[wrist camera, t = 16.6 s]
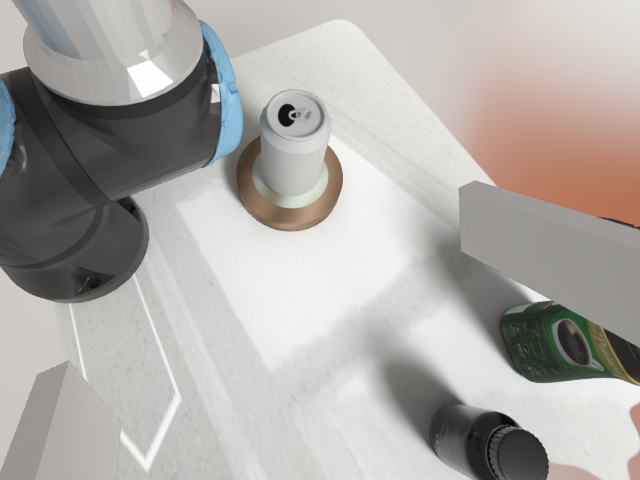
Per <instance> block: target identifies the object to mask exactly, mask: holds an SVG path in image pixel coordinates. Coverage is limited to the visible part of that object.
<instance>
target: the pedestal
mask: <svg viewBox="0 0 640 480" xmlns="http://www.w3.org/2000/svg"><path fill="white" fill-rule="evenodd" d="M237 183H238V188H239V193H240V197H241V200H242V202H243V204H244V206H245V208H246V209H247V211H248V212H249V213H250V214H251V215H252V216H253V217H254V218H255V219H256V220H257V221H259V222H260V223H262V224H264V225H266V226H268V227H270V228H273V229H276V230H281V231H300V230H305V229H308V228H311V227H313V226H315V225H317V224H319V223H320V222H322V221H323V220H324V219H325V218H326V217H327V216H328V215H329V214H330V213H331V211H332V210H333V208H334V206H335V204H336V202H337V200H338V197H339V195H340V192H341V189H342V183H343V173H342V168H341V164H340V162H339V160H338V158H337V156H336V154H335V153H334V151H333V150H332V149H331V148H330V147H329V146H328V145H327V149H326V152H325V156H324V160H323V164H322V168H321V172H320V176H319V179H318V182H317V184H316V185H315V186H314V188H313V189H312V190H310V191H309V192H307V193H306V194H303V195H299V196H285V195H282V194H279V193H277V192H275V191H274V190H272V189H271V188H270V187H269V186H268V185H267V183H266V182H265V180H264V177H263V175H262V156H261V136H259V137H258V138H256V139H255V140H253V141H252V142H251V143H250V144H249V145H248V146H247V147H246V148H245V150H244V151H243V153H242V154H241V157H240V159H239V162H238V165H237Z"/></svg>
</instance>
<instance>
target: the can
mask: <svg viewBox="0 0 640 480" xmlns="http://www.w3.org/2000/svg"><path fill="white" fill-rule="evenodd" d="M331 129H332V128H331V119H330V117H329V115H328V113H327V110H326V108H325V106H324V104H323V103H322V102H321V101H320V99H319V98H318V97H316V96H315V95H313V94H311V93H310V92H306V91H303V90H294V89H290V90H286V91H282V92H280V93H278V94H276V95H275V96H274V97H273V98H272V99H271V100H270V101H269V103H268V104H267V106H266V107H265V108H264V109H263V111H262V114H261V117H260V133H261V156H262V175H263V177H264V180H265V182H266V183H267V185H268V186H269V187H270V188H271V189H272V190H274V191H275V192H277V193H279V194H282V195H285V196H299V195H303V194H306V193H307V192H309V191H310V190H312V189H313V188H314V186H315V185H316V184H317V182H318V179H319V176H320V172H321V168H322V164H323V160H324V156H325V152H326V149H327V145H328V141H329V137H330V133H331Z"/></svg>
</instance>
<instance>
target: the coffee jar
mask: <svg viewBox="0 0 640 480" xmlns="http://www.w3.org/2000/svg"><path fill="white" fill-rule="evenodd" d="M501 328H502V333H503V337H504V340H505V343H506V346H507V348H508V351H509V353H510V356H511V358H512V360H513V362H514V364H515V366H516V368H517V369H518V371H519V372H520V374H521V375H522V376H523V377H525V378H526V379H527V380H529V381H532V382H536V383H552V382H563V381H571V380H579V379H590V378H617V379H621V380H624V381H626V382H629V383H631V384H634V385H637V386H640V347H638V346H636V345H634V344H632V343H630V342H629V341H627V340H625V339H623V338H621V337H619V336H617V335H616V334H614V333H612V332H610V331H608V330H606V329H604V328H603V327H601V326H599V325H597V324H595V323H593V322H591V321H590V320H588V319H586V318H584V317H582V316H580V315H578V314H577V313H575V312H573V311H571V310H569V309H567V308H565V307H564V306H562V305H560V304H558V303H556V302H554V301H543V302H535V303H529V304H524V305H520V306H517V307H514V308H512V309H510V310H508V311H507V312H505V314H504V315H503V317H502V320H501Z"/></svg>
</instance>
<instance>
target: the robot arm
mask: <svg viewBox="0 0 640 480" xmlns="http://www.w3.org/2000/svg"><path fill="white" fill-rule="evenodd" d="M12 1H13V3H14V4H15V6H16V7H17V8H18V10H19V11H20V13H21V14H22V15H23V17H24V18H25V20H26V21H27V23H28V26H27V28H26V31H25V34H24V38H23V49H24V55H25V58H26V62H27V64H28V67H25V68H21V69H18V70H14V71H11V72H6V73H3V74H0V267H1V268H2V269H3V270H4V272H5V273H6V274H7V275H8V276H9V277H10V279H11V280H12V281H13V282H14V283H15V284H16V285H17V286H19V287H20V288H22V289H23V290H25V291H26V292H28V293H30V294H32V295H35V296H37V297H40V298H44V299H47V300H50V301H54V302H60V303H79V302H85V301H90V300H94V299H97V298H99V297H102V296H104V295H106V294H108V293H110V292H112V291H114V290H115V289H117V288H118V287H120V286H121V285H122V284H124V283H125V282H126V281H127V280H128V279H129V278H130V277H131V276H132V275H133V274H134V272H135V271H136V270H137V269H138V267H139V266H140V264H141V262H142V260H143V258H144V256H145V253H146V250H147V247H148V241H149V229H148V223H147V220H146V217H145V215H144V213H143V211H142V210H141V208H140V207H139V206H138V204H137V203H136V202H135V201H134V200H133V198H132V197H131V196H130V195H132V194H135V193H138V192H140V191H143V190H145V189H148V188H150V187H153V186H156V185H158V184H161V183H163V182H166V181H168V180H171V179H174V178H176V177H179V176H181V175H184V174H186V173H189V172H192V171H194V170H197V169H199V168H204V167H207V166H209V165H211V164H212V163H213V162H214V161H215V160H217V159H220V158H222V157H224V156H226V155H228V154H230V153H232V152H233V151H234V150H235V149H236V148H237V146H238V145H239V143H240V140H241V137H242V132H243V111H242V103H241V98H240V94H239V92H238V90H237V89H236V87H235V79H236V78H235V75H234V72H233V68H232V65H231V63H230V60H229V58H228V55H227V53H226V51H225V49H224V47H223V45H222V43H221V41H220V39H219V38H218V36H217V35H216V33H215V32H214V31H213V29H212V28H211V27H210V26H209V25H207V24H206V23H205V22H203V21H201V20H198V19H197V17H196V15H195V14H194V12H193V11H192V9H191V8H190V7H189V6H188V5H187V4H186V3H184V1H182V0H12ZM459 210H460V238H461V252H463V253H465V254H467V255H469V256H471V257H473V258H474V259H476V260H478V261H480V262H482V263H484V264H486V265H487V266H489V267H491V268H493V269H495V270H497V271H499V272H500V273H502V274H504V275H506V276H508V277H510V278H512V279H513V280H515V281H517V282H519V283H521V284H523V285H525V286H526V287H528V288H530V289H532V290H534V291H536V292H538V293H539V294H541V295H543V296H545V297H547V298H549V299H551V300H552V301H554V302H556V303H558V304H560V305H562V306H564V307H565V308H567V309H569V310H571V311H573V312H575V313H577V314H578V315H580V316H582V317H584V318H586V319H588V320H590V321H591V322H593V323H595V324H597V325H599V326H601V327H603V328H604V329H606V330H608V331H610V332H612V333H614V334H616V335H617V336H619V337H621V338H623V339H625V340H627V341H629V342H630V343H632V344H634V345H636V346H638V347H640V227H634V225H632V224H628V223H624V222H621V221H618V220H614V219H610V218H601V217H595V216H591V215H588V214H585V213H581V212H578V211H575V210H572V209H568V208H565V207H561V206H558V205H555V204H551V203H548V202H545V201H541V200H538V199H535V198H531V197H528V196H525V195H521V194H518V193H515V192H511V191H508V190H505V189H501V188H498V187H495V186H491V185H488V184H485V183H481V182H478V181H473V182H471V183H469V184H466V185H464V186H462V187H460V188H459ZM120 432H121V422H120V420H119V419H118V418H117V417H116V416H115V414H114V413H113V412H112V411H111V410H110V409H109V407H108V406H107V405H106V404H105V403H104V401H103V400H102V399H101V398H100V397H99V396H98V394H97V393H96V392H95V391H94V390H93V388H92V387H91V386H90V385H89V384H88V382H87V381H86V380H85V379H84V378H83V377H82V375H81V374H80V373H79V372H78V371H77V369H76V368H75V367H74V366H73V365H72V364H71V362H70V361H67V362H65V363H62V364H60V365H58V366H56V367H54V368H51V369H49V370H47V371H44V372H42V373H40V374H38V375H37V377H36V379H35V382H34V385H33V388H32V390H31V392H30V395H29V398H28V400H27V403H26V406H25V408H24V411H23V414H22V416H21V419H20V422H19V424H18V427H17V430H16V432H15V435H14V437H13V440H12V442H11V445H10V448H9V450H8V453H7V456H6V458H5V461H4V464H3V466H2V469H1V472H0V480H117V469H118V457H119V444H120Z"/></svg>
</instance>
